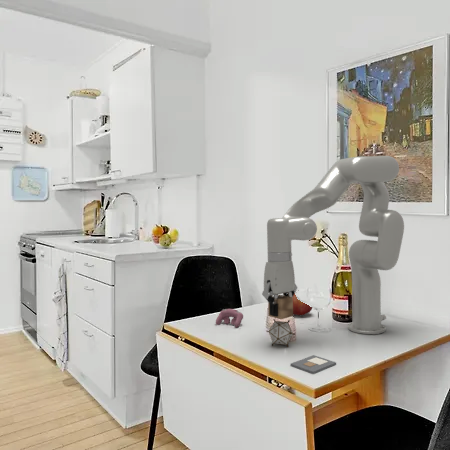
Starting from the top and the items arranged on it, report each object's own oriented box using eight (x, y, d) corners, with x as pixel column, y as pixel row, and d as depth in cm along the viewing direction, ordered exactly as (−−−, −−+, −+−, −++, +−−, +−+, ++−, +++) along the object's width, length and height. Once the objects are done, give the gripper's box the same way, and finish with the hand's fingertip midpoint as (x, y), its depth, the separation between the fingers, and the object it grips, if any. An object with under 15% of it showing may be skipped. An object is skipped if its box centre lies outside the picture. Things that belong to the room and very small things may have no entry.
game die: (285, 355, 140) (303, 329, 141) (280, 354, 132) (299, 326, 133) (263, 338, 144) (280, 313, 144) (257, 336, 136) (275, 309, 137)
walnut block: (280, 312, 142) (280, 294, 142) (293, 316, 138) (292, 297, 137) (268, 316, 138) (268, 297, 138) (281, 319, 134) (280, 300, 134)
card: (313, 357, 127) (313, 354, 127) (336, 364, 121) (336, 362, 121) (290, 365, 121) (290, 363, 121) (313, 374, 115) (313, 371, 115)
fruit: (309, 311, 179) (309, 287, 179) (316, 318, 170) (315, 292, 169) (284, 312, 179) (283, 288, 178) (289, 319, 169) (288, 293, 168)
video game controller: (242, 330, 161) (245, 311, 163) (236, 327, 158) (240, 308, 160) (219, 326, 166) (223, 308, 169) (213, 324, 163) (217, 305, 165)
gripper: (289, 253, 145) (290, 307, 146) (251, 259, 135) (252, 316, 136) (306, 255, 140) (307, 311, 141) (268, 261, 129) (270, 321, 130)
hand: (280, 313), depth 138 cm, fingers closed on walnut block, 5 cm apart
